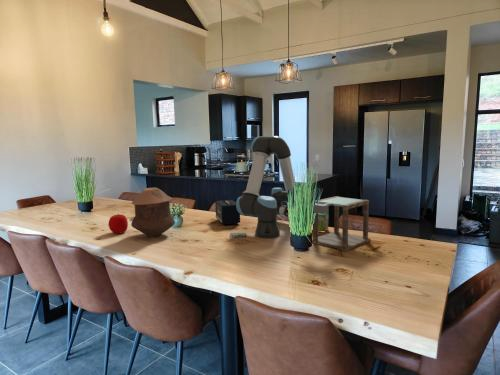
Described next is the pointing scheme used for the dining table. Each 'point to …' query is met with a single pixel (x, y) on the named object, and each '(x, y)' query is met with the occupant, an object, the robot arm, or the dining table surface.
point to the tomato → (118, 224)
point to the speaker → (227, 212)
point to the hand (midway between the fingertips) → (312, 215)
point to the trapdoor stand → (343, 238)
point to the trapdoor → (336, 201)
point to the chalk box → (322, 222)
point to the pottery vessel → (152, 212)
